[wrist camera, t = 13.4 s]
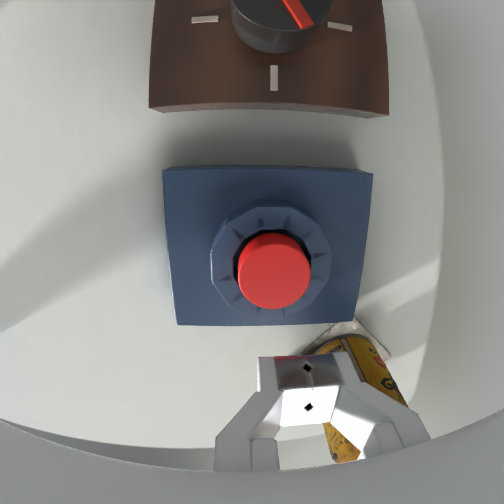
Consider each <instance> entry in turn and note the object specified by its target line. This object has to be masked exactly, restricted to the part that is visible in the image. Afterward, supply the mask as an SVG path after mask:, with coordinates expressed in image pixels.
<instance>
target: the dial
mask: <svg viewBox="0 0 504 504" xmlns="http://www.w3.org/2000/svg"><path fill="white" fill-rule="evenodd" d="M230 3H231V16H232V25H233V28H234V30H235V32H236V34H237V35H238V37H239V38H240V39H241V40H242V41H243V42H244V43H246V44H247V45H249V46H250V47H252V48H254V49H256V50H259V51H262V52H266V53H274V54H280V53H288V52H291V51H294V50H297V49H299V48H301V47H302V46H304V45H305V44H306V43H307V42H308V41H309V40H310V38H311V37H312V36H313V34H314V33H315V32H316V30H317V29H318V27H319V26H320V25H321V23H322V22H323V21H324V19H325V18H326V17H327V15H328V14H329V12H330V10H331V7H332V0H230Z"/></svg>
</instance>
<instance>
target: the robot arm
mask: <svg viewBox="0 0 504 504" xmlns="http://www.w3.org/2000/svg"><path fill="white" fill-rule="evenodd" d="M324 422H330V423H331V424H332V425H333V426H334V427H335V428H336V429H337V430H338V431H339V432H340V433H342V434H343V435H344V436H345V437H346V438H347V439H348V440H349V441H350V442H351V443H352V444H353V445H355V446H356V447H357V448H358V449H359V450H360V451H361V453H360V455H359V457H358V459H357V460H354V461H349V462H344V463H338V464H332V465H326V466H319V467H310V468H301V469H292V470H291V469H290V470H280V465H279V457H278V449H277V441H276V440H274V437H275V436H276V434H277V432H278V431H279V429H280V427H283V426H293V425H302V424H313V423H324ZM0 504H504V408H503V409H501V410H499V411H498V412H496V413H494V414H492V415H490V416H487V417H486V418H483V419H481V420H479V421H477V422H475V423H472V424H470V425H468V426H466V427H463V428H461V429H458V430H456V431H454V432H451V433H448V434H445V435H443V436H440V437H438V438H435V439H432V440H431V438H430V436H429V434H428V432H427V430H426V428H425V426H424V425H423V423H422V421H421V419H420V417H419V415H418V413H416V412H414V411H412V410H411V409H409V408H407V407H406V406H404V405H402V404H401V403H399V402H397V401H395V400H394V399H392V398H390V397H389V396H387V395H385V394H384V393H382V392H380V391H379V390H377V389H376V388H374V387H372V386H371V385H369V384H367V383H366V382H362V383H361V381H360V379H359V377H358V375H357V373H356V370H355V368H354V366H353V364H352V362H351V360H350V357H349V355H348V353H347V352H345V351H344V352H336V353H329V354H318V355H306V356H274V357H258V372H257V392H255V393H254V394H253V395H252V396H251V398H250V399H249V400H248V401H247V402H246V404H245V405H244V406H243V407H242V408H241V409H240V411H239V412H238V413H237V414H236V415H235V416H234V417H233V419H232V420H231V421H230V422H229V423H228V424H227V425H226V426H225V428H224V429H223V430H222V431H221V432H220V433H219V434H218V435H217V436H216V441H215V455H214V468H213V471H199V470H186V469H175V468H166V467H158V466H152V465H145V464H139V463H132V462H128V461H122V460H117V459H113V458H109V457H104V456H100V455H96V454H92V453H88V452H84V451H81V450H77V449H74V448H71V447H67V446H64V445H61V444H58V443H55V442H52V441H49V440H46V439H43V438H41V437H38V436H35V435H33V434H30V433H28V432H25V431H22V430H20V429H18V428H16V427H13V426H11V425H8V424H6V423H4V422H2V421H0Z"/></svg>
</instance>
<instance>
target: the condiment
mask: <svg viewBox="0 0 504 504" xmlns="http://www.w3.org/2000/svg"><path fill="white" fill-rule="evenodd" d="M344 351H345V352H347V353H348V355H349V357H350V360H351V362H352V364H353V366H354V368H355V370H356V373H357V375H358V377H359V379H360V381H361V383H362V382H366V383H367V384H369V385H371V386H372V387H374V388H376V389H377V390H379V391H380V392H382V393H384V394H385V395H387V396H389V397H390V398H392V399H394V400H395V401H397V402H399V403H401V404H402V405H404V406H406V407H407V408H408V405H407V404H406V402H405V400H404V398H403V396H402V394H401V393H400V391H399V389H398V387H397V384H396V383H395V381H394V380H393V378H392V376H391V374H390V372H389V371H388V369H387V367H386V364H385V363H384V361H385V360H387V359H388V358H390V357H392V356H391V355H390V354H389V353H388V352H387V351H386V350H385V349H384V348H383V347H382V346H381V345H380V344H379V343H378V342H377V341H376V339H375V338H374V337H373V336H372V335H371V334H370V333H369V332H368V331H367V330H366V329H365V328H364V327H363V326H362V325H361V324H360V323H359V322H358V321H357V320H356V319H355V318H354V317H353V321H350V322H338V323H337V324H336V325H334V326H333V327H332V328H331V329H330V330H329V331H328V332H326V333H324V334H323V335H322V336H321V337H319V338H318V339H317V340H316V341H315V342H313V343H312V344H311V345H310V346H309V347H307V348H306V349H305V350H304V351H303V352H302V353H301V354H299V355H298V356H306V355H318V354H329V353H336V352H344ZM323 426H324V430H325V434H326V437H327V441H328V445H329V449H330V454H331V456H332V459H333V460H334V461H335V462H336V463H337V464H338V463H344V462H349V461H354V460H357V459H358V457H359V455H360V453H361V451H360V450H359V449H358V448H357V447H356V446H355V445H353V444H352V443H351V442H350V441H349V440H348V439H347V438H346V437H345V436H344V435H343V434H342V433H340V432H339V431H338V430H337V429H336V428H335V427H334V426H333V425H332V424H331V423H330V422H324V423H323Z"/></svg>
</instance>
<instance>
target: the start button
mask: <svg viewBox="0 0 504 504" xmlns="http://www.w3.org/2000/svg"><path fill="white" fill-rule="evenodd" d="M310 278H311V270H310V265H309V262H308V260H307V258H306V256H305V255H304V253H303V251H302V249H301V247H300V246H299V245H298V243H297V242H296V241H295V240H293V239H292V238H290V237H289V236H287V235H284V234H280V233H266V234H262V235H259V236H257V237H255V238H253V239H252V240H251V241H249V242H248V243H247V244H246V245H245V247H244V248H243V250H242V252H241V254H240V257H239V261H238V282H239V286H240V289H241V291H242V293H243V294H244V296H245V297H246V298H247V299H248V300H249V301H251V302H252V303H253V304H255V305H257V306H260V307H263V308H268V309H278V308H283V307H286V306H289V305H291V304H293V303H294V302H296V301H297V300H298V299H299V298H300V297H302V295H303V294H304V293H305V291H306V290H307V288H308V285H309V282H310Z"/></svg>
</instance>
